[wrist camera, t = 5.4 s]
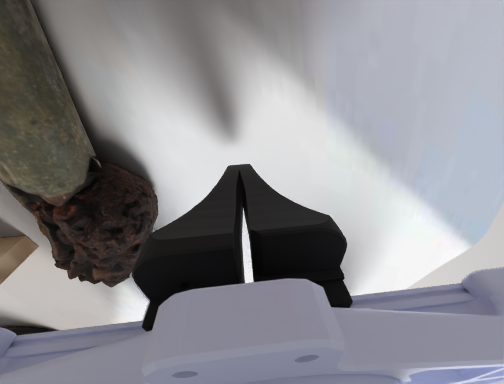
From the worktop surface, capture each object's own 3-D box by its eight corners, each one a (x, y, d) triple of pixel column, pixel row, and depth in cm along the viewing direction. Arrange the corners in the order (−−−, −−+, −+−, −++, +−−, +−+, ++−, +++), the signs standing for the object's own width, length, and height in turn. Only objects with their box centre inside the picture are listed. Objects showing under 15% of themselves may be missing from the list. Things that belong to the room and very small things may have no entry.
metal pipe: (-80, -34, 8) (-518, -162, 3) (96, -23, 8) (-60, -116, 4) (105, 245, 18) (63, 310, 13) (177, 241, 19) (161, 301, 14)
